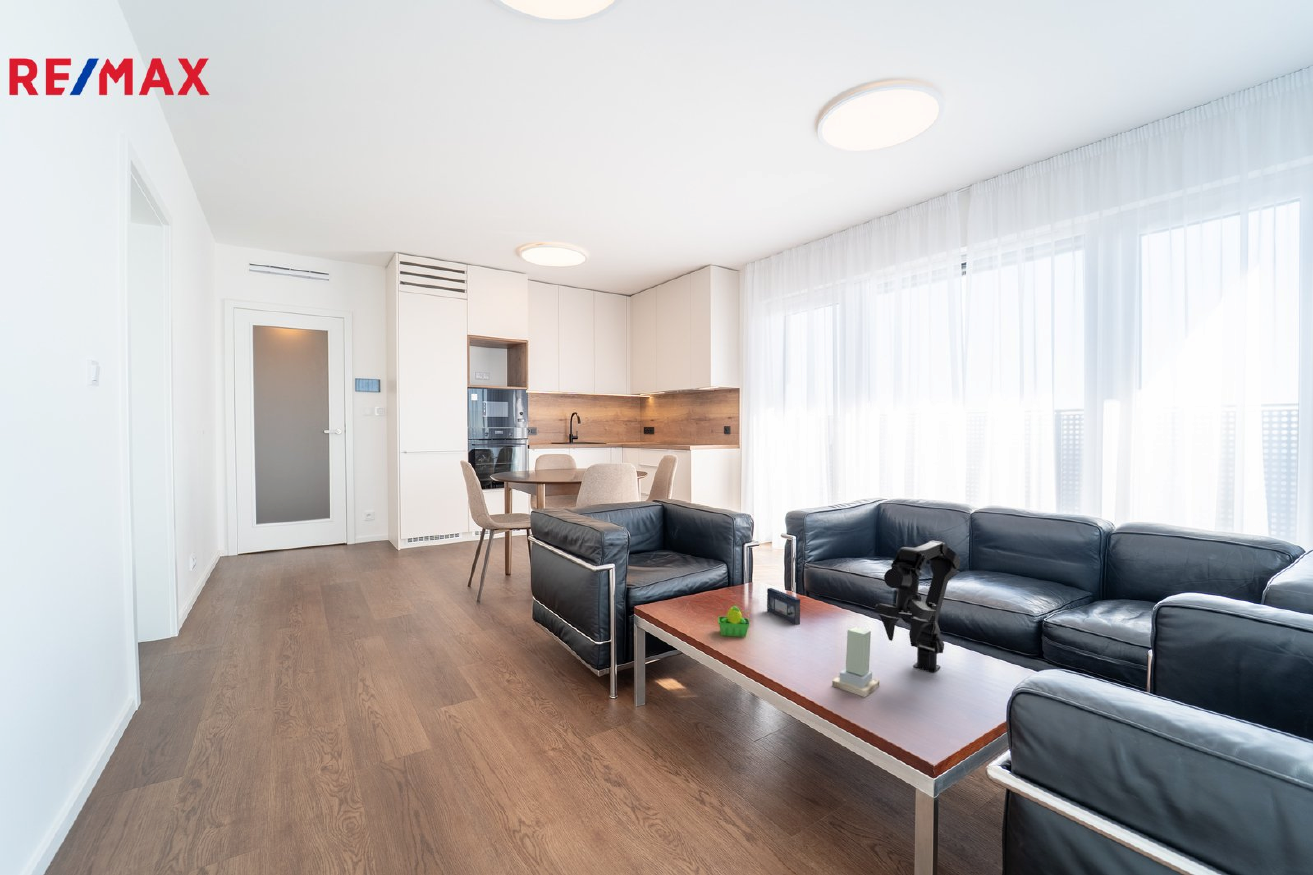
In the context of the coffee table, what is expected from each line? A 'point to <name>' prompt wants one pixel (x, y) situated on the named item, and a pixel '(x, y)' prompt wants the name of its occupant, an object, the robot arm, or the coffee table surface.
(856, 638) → the column
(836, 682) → the tower base
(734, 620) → the fruit basket
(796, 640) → the coffee table surface
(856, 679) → the tower top
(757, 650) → the coffee table surface
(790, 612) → the vhs cassette tape
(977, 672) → the coffee table surface
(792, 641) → the coffee table surface
